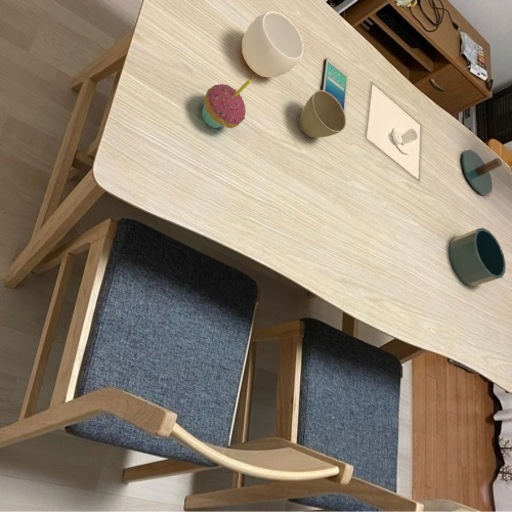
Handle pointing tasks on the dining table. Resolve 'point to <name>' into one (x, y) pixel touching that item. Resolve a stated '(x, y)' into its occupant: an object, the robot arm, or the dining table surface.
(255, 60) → the cup
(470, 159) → the lid
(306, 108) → the flower pot
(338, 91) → the smartphone
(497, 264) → the bowl
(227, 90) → the cupcake
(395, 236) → the dining table surface
